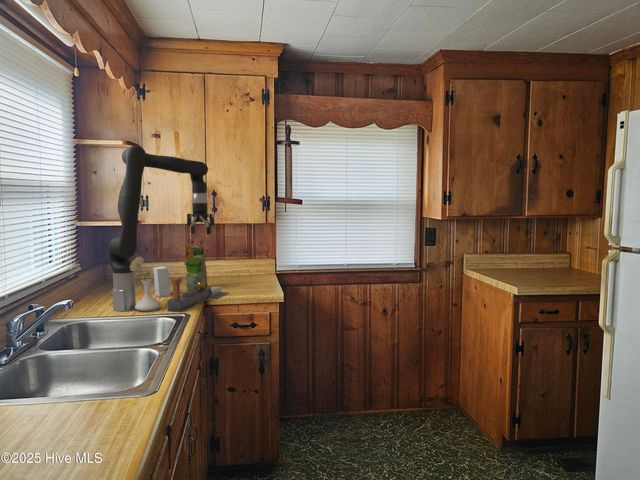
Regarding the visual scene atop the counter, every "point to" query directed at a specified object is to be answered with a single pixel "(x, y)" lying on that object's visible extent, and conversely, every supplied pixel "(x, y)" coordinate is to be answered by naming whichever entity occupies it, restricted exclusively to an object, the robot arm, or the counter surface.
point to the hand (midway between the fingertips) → (200, 234)
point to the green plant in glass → (195, 266)
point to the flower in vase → (147, 300)
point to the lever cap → (214, 291)
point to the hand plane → (186, 296)
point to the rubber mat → (219, 295)
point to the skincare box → (161, 281)
